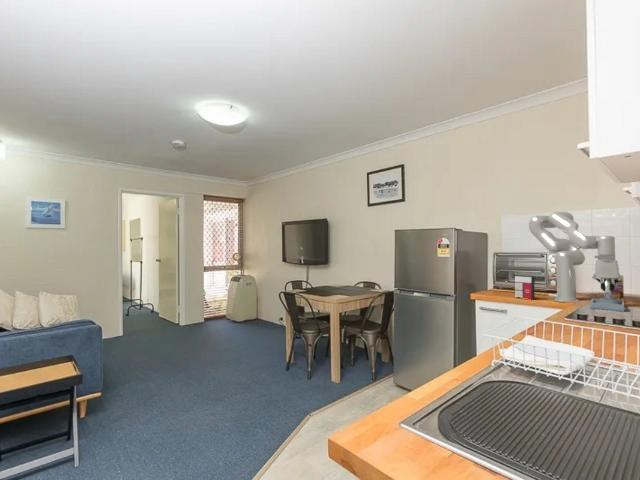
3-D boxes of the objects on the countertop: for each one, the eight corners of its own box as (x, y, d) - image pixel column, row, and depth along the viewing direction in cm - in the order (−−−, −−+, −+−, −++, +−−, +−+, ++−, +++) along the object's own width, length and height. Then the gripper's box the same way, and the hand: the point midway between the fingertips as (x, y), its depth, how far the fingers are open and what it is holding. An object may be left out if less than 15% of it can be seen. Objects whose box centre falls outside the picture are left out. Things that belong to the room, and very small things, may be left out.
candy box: (605, 298, 225) (605, 275, 225) (605, 297, 228) (604, 274, 229) (623, 299, 220) (623, 275, 220) (622, 298, 223) (622, 275, 224)
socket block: (597, 303, 207) (597, 294, 207) (598, 301, 215) (598, 293, 215) (619, 305, 200) (619, 296, 201) (619, 302, 208) (619, 294, 208)
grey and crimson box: (514, 298, 229) (513, 275, 229) (517, 297, 231) (516, 275, 232) (532, 300, 220) (531, 276, 220) (535, 299, 223) (534, 276, 223)
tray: (590, 308, 191) (590, 302, 191) (592, 304, 204) (592, 298, 204) (623, 311, 181) (623, 305, 181) (624, 306, 195) (624, 300, 195)
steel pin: (602, 299, 192) (601, 276, 192) (602, 298, 196) (602, 276, 196) (613, 300, 189) (612, 276, 189) (613, 299, 193) (612, 276, 193)
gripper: (587, 257, 196) (588, 290, 195) (626, 258, 185) (627, 292, 184) (588, 257, 201) (589, 289, 201) (626, 257, 190) (627, 291, 190)
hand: (607, 290), depth 192 cm, fingers closed on steel pin, 3 cm apart
